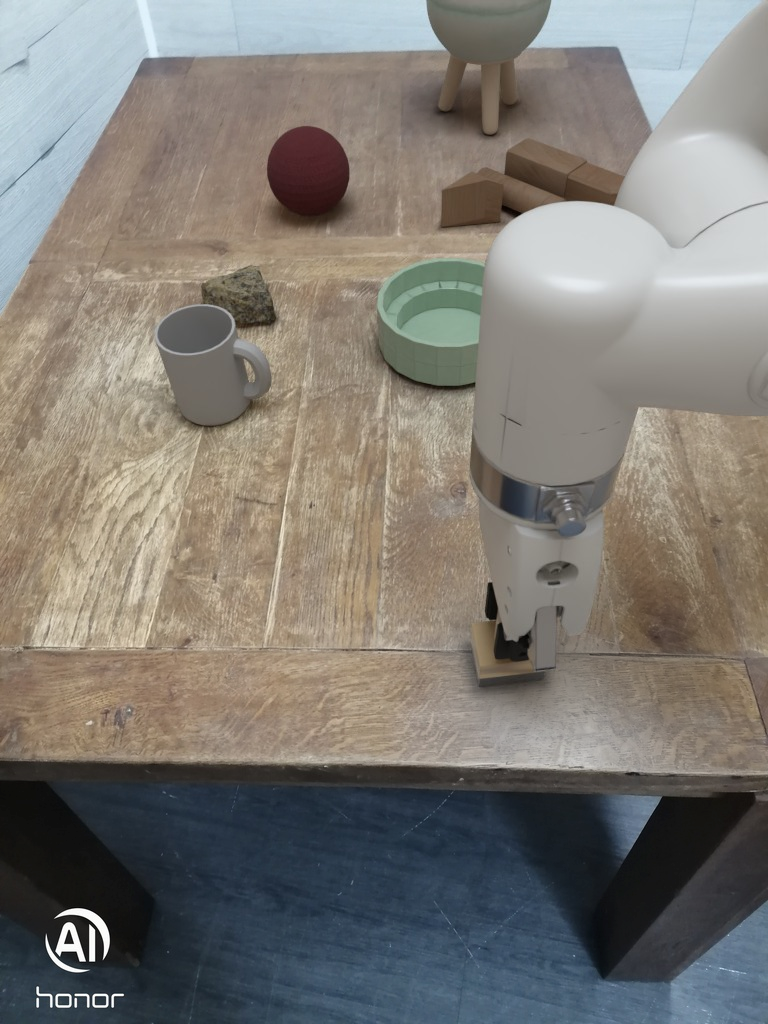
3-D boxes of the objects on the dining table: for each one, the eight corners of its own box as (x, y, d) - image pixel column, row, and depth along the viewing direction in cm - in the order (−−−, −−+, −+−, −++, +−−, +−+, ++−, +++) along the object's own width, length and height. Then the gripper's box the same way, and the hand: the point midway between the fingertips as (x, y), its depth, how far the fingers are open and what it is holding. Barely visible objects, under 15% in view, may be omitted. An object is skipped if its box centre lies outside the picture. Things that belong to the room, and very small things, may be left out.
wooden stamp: (534, 638, 58) (551, 563, 50) (545, 680, 56) (565, 609, 48) (469, 645, 58) (476, 572, 50) (477, 688, 56) (486, 618, 48)
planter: (406, 106, 114) (404, -79, 96) (501, 82, 117) (515, -100, 100) (458, 153, 104) (466, -42, 87) (559, 125, 108) (586, -67, 91)
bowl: (543, 334, 80) (549, 289, 76) (464, 410, 74) (466, 366, 69) (433, 286, 86) (434, 242, 82) (351, 353, 79) (347, 309, 75)
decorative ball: (363, 221, 95) (357, 140, 87) (285, 239, 93) (272, 158, 85) (338, 183, 101) (331, 104, 93) (265, 199, 99) (251, 120, 91)
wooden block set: (522, 126, 97) (648, 172, 89) (518, 169, 101) (637, 217, 93) (434, 179, 89) (563, 234, 81) (434, 224, 94) (556, 280, 86)
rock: (213, 338, 82) (203, 303, 78) (201, 296, 86) (191, 261, 83) (278, 323, 83) (272, 288, 79) (263, 283, 88) (256, 248, 84)
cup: (193, 373, 78) (171, 301, 71) (287, 383, 77) (274, 310, 70) (168, 423, 74) (141, 351, 67) (267, 435, 73) (251, 362, 66)
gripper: (670, 577, 34) (596, 738, 49) (576, 345, 44) (538, 535, 59) (503, 596, 34) (479, 752, 48) (446, 358, 44) (441, 546, 58)
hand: (512, 632), depth 53 cm, fingers closed on wooden stamp, 2 cm apart
